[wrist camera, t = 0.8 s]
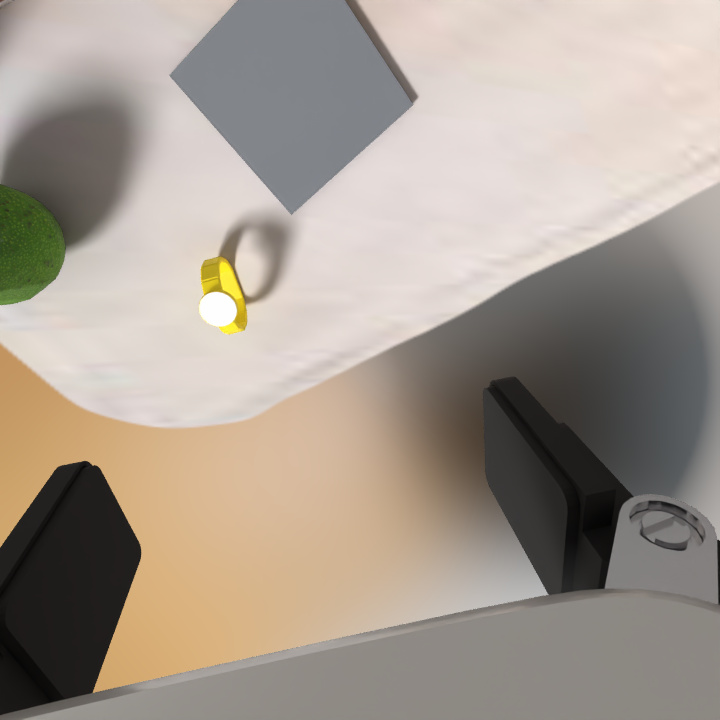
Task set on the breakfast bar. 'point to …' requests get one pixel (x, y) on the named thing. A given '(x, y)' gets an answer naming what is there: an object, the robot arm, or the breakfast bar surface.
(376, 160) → the breakfast bar surface
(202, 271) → the watch
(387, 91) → the slate coaster
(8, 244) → the avocado
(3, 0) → the coffee cup
